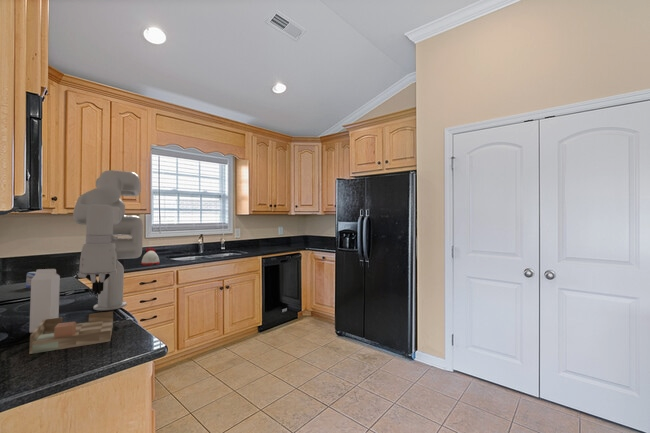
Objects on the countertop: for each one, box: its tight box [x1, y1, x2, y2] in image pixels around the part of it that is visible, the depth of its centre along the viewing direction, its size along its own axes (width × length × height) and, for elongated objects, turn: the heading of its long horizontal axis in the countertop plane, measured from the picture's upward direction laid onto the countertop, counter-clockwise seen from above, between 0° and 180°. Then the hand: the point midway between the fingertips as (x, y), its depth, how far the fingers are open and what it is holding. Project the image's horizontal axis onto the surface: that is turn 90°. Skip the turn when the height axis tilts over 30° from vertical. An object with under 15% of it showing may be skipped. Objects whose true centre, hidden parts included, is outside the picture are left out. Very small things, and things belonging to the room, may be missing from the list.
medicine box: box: [25, 271, 36, 289], centre depth 175 cm, size 8×4×9 cm, turn 76°
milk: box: [29, 268, 61, 333], centre depth 113 cm, size 6×6×22 cm
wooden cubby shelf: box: [28, 310, 114, 355], centre depth 105 cm, size 17×20×6 cm
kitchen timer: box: [140, 247, 160, 266], centre depth 272 cm, size 14×14×15 cm
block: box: [54, 321, 77, 338], centre depth 100 cm, size 4×4×4 cm
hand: (97, 293), depth 105 cm, fingers closed
